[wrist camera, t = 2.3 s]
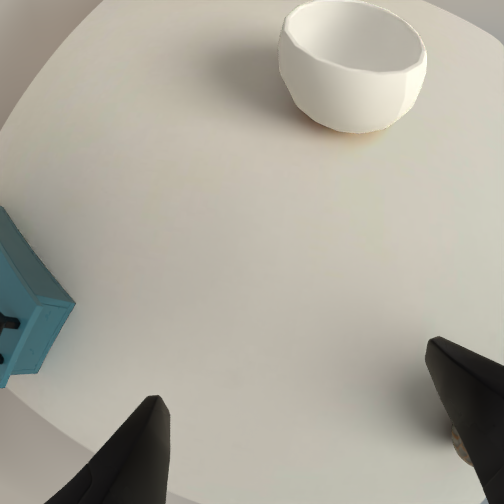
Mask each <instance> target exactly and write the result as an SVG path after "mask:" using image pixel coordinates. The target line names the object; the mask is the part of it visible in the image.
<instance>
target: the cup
mask: <svg viewBox="0 0 504 504" xmlns="http://www.w3.org/2000/svg"><path fill="white" fill-rule="evenodd" d="M278 59H279V70H280V74H281V76H282V78H283V80H284V82H285V84H286V86H287V88H288V90H289V92H290V94H291V96H292V98H293V100H294V102H295V104H296V106H297V107H298V108H299V109H301V110H302V111H303V112H304V113H305V114H307V115H308V116H309V117H310V118H311V119H312V120H314V121H315V122H317V123H319V124H322V125H324V126H326V127H329V128H331V129H333V130H336V131H339V132H348V133H356V134H363V133H368V132H373V131H378V130H383V129H386V128H387V127H388V126H390V125H391V124H393V123H394V122H395V121H397V120H398V119H399V118H401V117H402V116H403V115H404V114H405V113H406V112H407V111H409V110H410V109H411V108H412V107H413V105H414V103H415V101H416V98H417V96H418V94H419V92H420V89H421V87H422V84H423V80H424V77H425V74H426V66H427V51H426V49H425V46H424V43H423V41H422V39H421V36H420V35H419V34H418V33H417V32H416V31H415V29H414V28H413V27H412V26H411V25H410V24H409V23H408V22H407V21H405V20H404V19H402V18H401V17H399V16H397V15H396V14H394V13H392V12H390V11H389V10H387V9H385V8H382V7H379V6H376V5H373V4H370V3H367V2H364V1H360V0H313V1H310V2H307V3H304V4H301V5H299V6H297V7H296V8H295V9H294V10H293V11H292V12H290V13H289V14H288V15H287V16H286V17H285V19H284V23H283V26H282V30H281V33H280V39H279V46H278Z"/></svg>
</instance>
